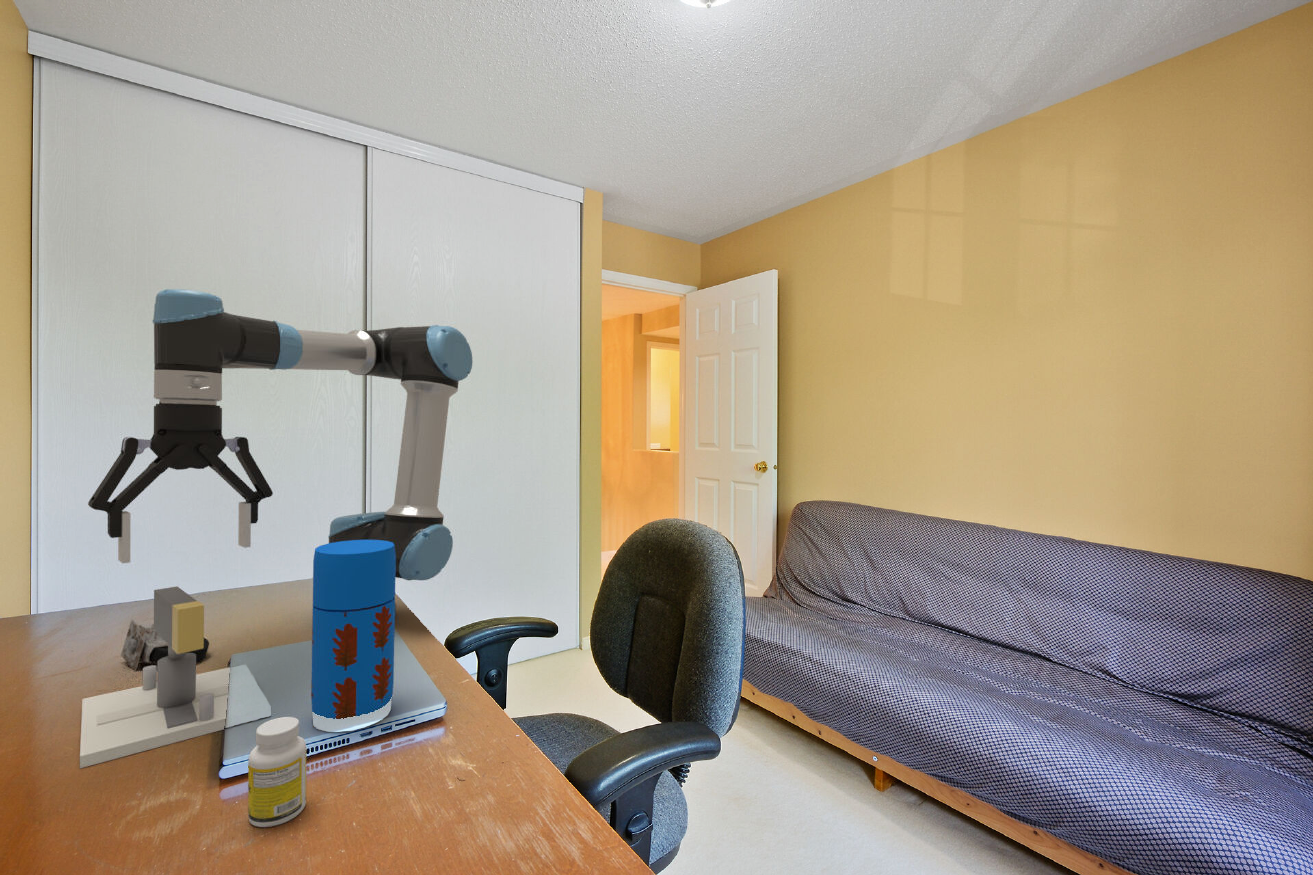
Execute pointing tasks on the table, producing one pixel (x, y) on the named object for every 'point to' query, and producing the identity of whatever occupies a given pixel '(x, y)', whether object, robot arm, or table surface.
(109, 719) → the base plate
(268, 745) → the supplement bottle
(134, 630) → the caster wheel
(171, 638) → the grey yellow rectangular block
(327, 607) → the thermos
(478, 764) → the table surface
